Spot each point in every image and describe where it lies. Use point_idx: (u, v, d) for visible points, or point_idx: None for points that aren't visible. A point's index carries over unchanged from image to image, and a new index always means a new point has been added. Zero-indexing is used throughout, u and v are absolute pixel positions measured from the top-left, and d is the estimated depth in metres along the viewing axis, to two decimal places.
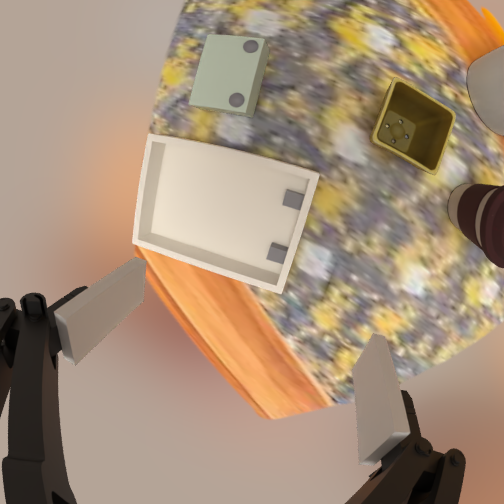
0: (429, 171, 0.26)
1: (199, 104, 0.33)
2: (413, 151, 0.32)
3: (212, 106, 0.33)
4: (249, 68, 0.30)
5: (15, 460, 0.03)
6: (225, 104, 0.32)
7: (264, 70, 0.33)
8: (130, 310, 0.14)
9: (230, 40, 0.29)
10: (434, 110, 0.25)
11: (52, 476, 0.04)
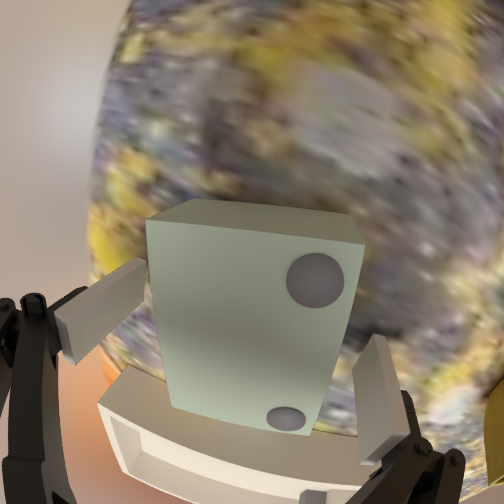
0: None
1: (196, 412, 0.14)
2: None
3: (228, 421, 0.13)
4: (315, 355, 0.11)
5: (15, 460, 0.03)
6: (258, 422, 0.13)
7: None
8: (130, 310, 0.14)
9: (232, 250, 0.10)
10: None
11: (52, 476, 0.04)
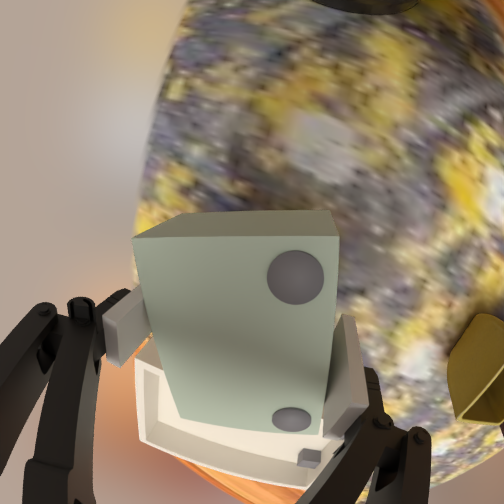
0: (496, 424, 0.14)
1: (204, 421, 0.14)
2: None
3: (236, 427, 0.13)
4: (309, 352, 0.11)
5: (40, 464, 0.03)
6: (265, 425, 0.13)
7: None
8: None
9: (213, 258, 0.10)
10: None
11: (77, 483, 0.04)
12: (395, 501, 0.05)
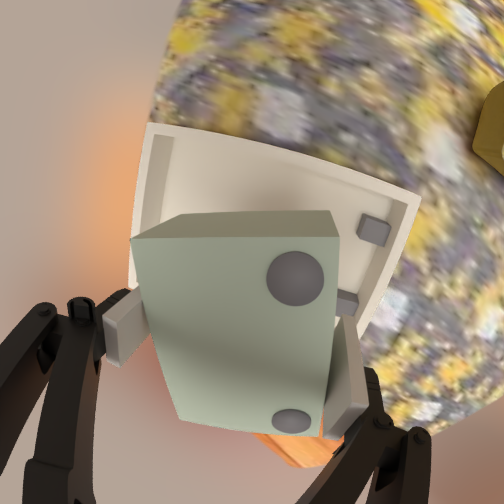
0: None
1: (204, 422, 0.14)
2: None
3: (236, 428, 0.13)
4: (309, 354, 0.11)
5: (40, 464, 0.03)
6: (265, 427, 0.13)
7: None
8: None
9: (212, 258, 0.10)
10: None
11: (77, 483, 0.04)
12: (395, 501, 0.05)
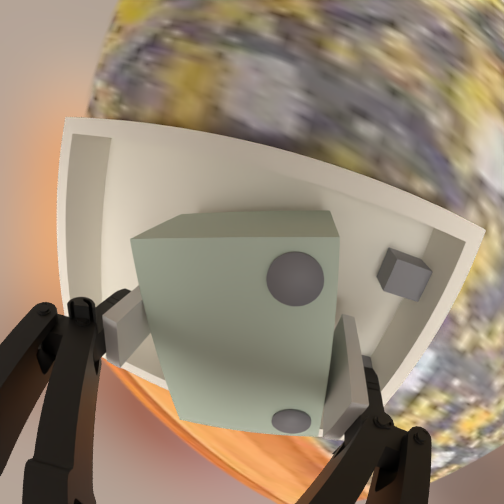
0: None
1: (204, 422, 0.14)
2: None
3: (236, 428, 0.13)
4: (309, 354, 0.11)
5: (40, 464, 0.03)
6: (265, 427, 0.13)
7: None
8: None
9: (212, 259, 0.10)
10: None
11: (77, 483, 0.04)
12: (395, 501, 0.05)
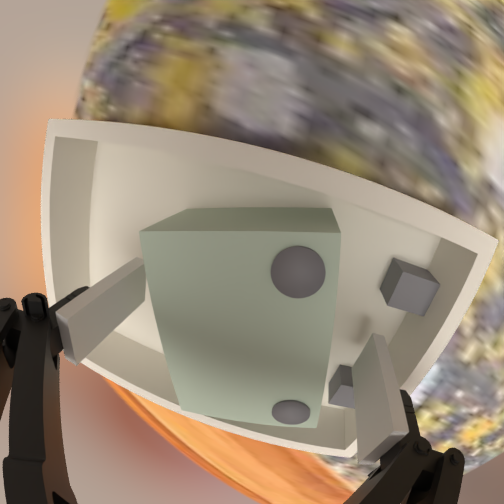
0: None
1: (205, 413, 0.14)
2: None
3: (236, 419, 0.14)
4: (310, 345, 0.11)
5: (16, 461, 0.03)
6: (265, 418, 0.13)
7: None
8: (131, 310, 0.14)
9: (219, 251, 0.11)
10: None
11: (53, 476, 0.04)
12: None
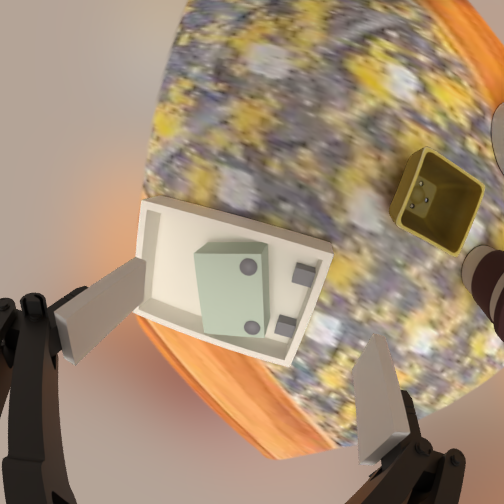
0: (451, 254, 0.24)
1: (215, 333, 0.35)
2: (432, 218, 0.30)
3: (229, 334, 0.35)
4: (255, 294, 0.33)
5: (15, 460, 0.03)
6: (241, 332, 0.34)
7: (268, 270, 0.36)
8: (130, 310, 0.14)
9: (222, 260, 0.32)
10: (461, 179, 0.23)
11: (52, 476, 0.04)
12: None
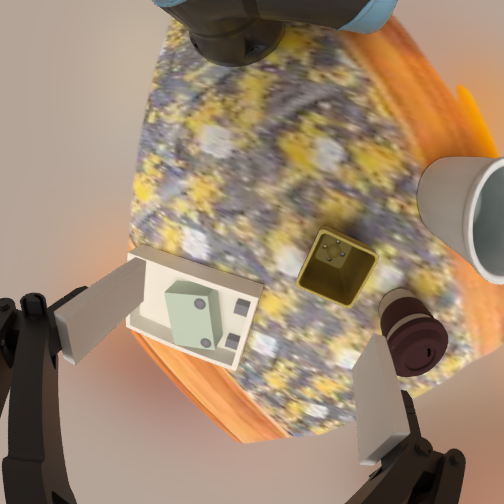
0: (344, 306, 0.37)
1: (182, 344, 0.49)
2: (345, 270, 0.43)
3: (191, 346, 0.48)
4: (205, 321, 0.46)
5: (15, 460, 0.03)
6: (199, 345, 0.48)
7: (218, 302, 0.49)
8: (130, 310, 0.14)
9: (183, 298, 0.45)
10: None
11: (52, 476, 0.04)
12: None
